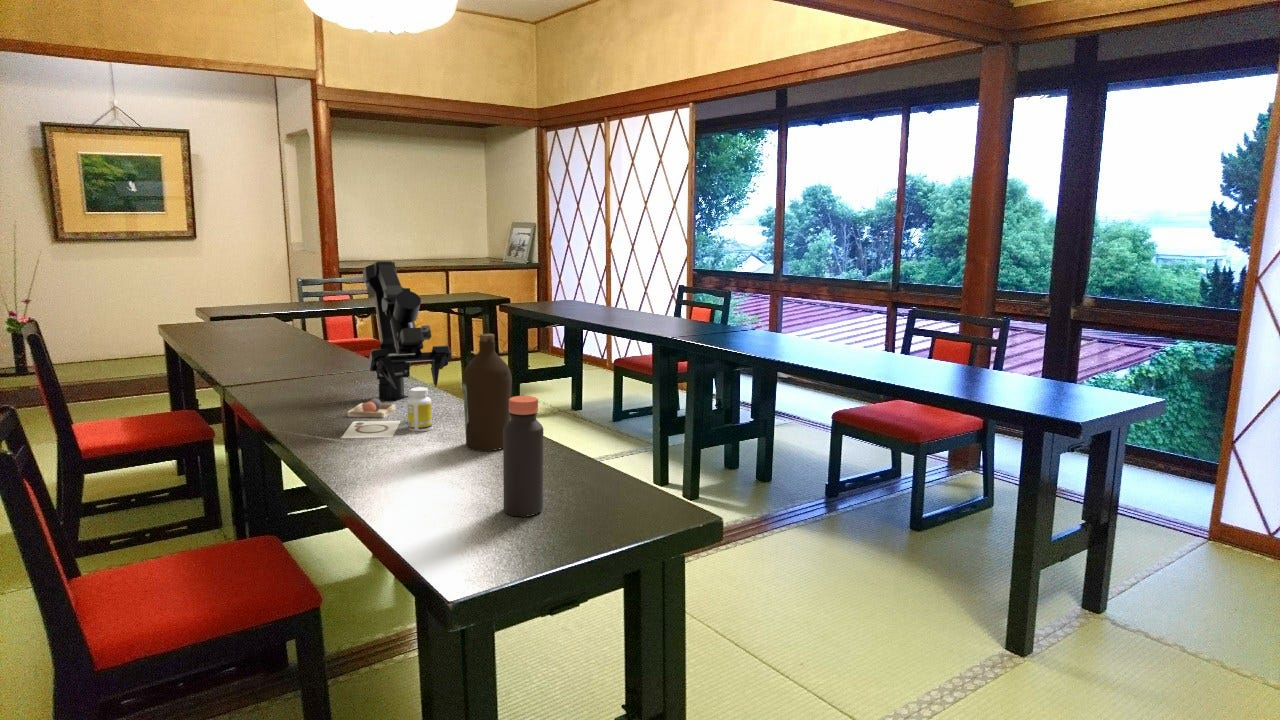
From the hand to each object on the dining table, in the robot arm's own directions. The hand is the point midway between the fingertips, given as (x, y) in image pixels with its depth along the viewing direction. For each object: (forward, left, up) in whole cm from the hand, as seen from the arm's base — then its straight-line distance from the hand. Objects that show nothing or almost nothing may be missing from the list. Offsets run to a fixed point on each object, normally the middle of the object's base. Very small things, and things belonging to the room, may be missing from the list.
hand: (416, 386), depth 179 cm
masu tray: (-4, -17, -10) cm, 20 cm away
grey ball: (-6, -18, -9) cm, 21 cm away
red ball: (-3, -16, -9) cm, 19 cm away
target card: (+8, -7, -10) cm, 14 cm away
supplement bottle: (+2, +2, -10) cm, 10 cm away
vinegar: (+36, +49, -10) cm, 61 cm away
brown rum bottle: (+6, +23, -10) cm, 26 cm away
